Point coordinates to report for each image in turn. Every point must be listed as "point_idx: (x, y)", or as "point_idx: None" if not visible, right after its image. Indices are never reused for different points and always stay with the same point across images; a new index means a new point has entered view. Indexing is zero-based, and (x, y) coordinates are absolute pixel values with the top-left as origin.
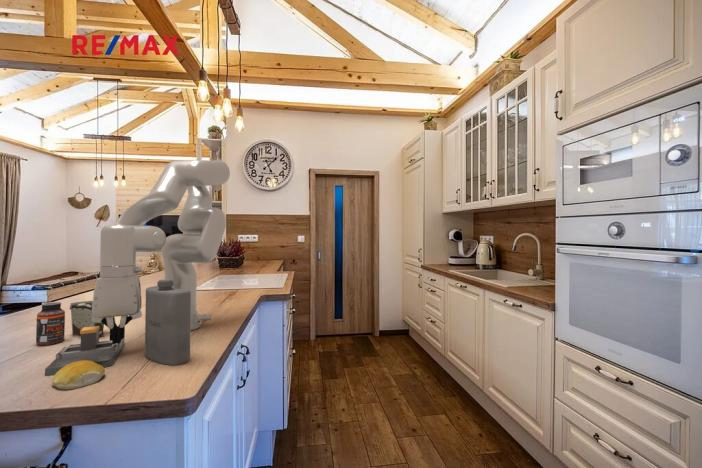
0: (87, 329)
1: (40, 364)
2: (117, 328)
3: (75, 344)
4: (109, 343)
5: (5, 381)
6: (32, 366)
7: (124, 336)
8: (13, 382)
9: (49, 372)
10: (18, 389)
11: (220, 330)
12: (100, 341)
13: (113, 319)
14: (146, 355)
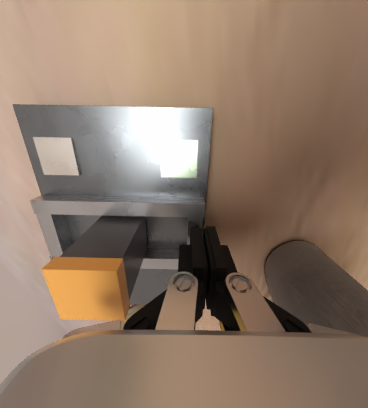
0: (84, 311)
1: (25, 216)
2: (209, 307)
3: (31, 106)
4: (173, 215)
5: (24, 286)
6: (14, 223)
7: (226, 246)
8: (44, 296)
9: None
10: (74, 323)
11: None
12: (121, 107)
13: (188, 320)
14: (268, 284)
